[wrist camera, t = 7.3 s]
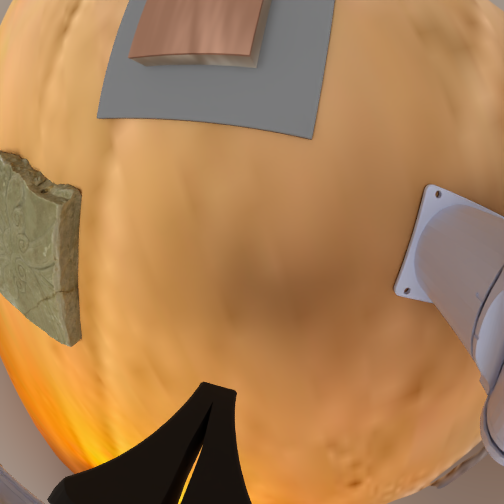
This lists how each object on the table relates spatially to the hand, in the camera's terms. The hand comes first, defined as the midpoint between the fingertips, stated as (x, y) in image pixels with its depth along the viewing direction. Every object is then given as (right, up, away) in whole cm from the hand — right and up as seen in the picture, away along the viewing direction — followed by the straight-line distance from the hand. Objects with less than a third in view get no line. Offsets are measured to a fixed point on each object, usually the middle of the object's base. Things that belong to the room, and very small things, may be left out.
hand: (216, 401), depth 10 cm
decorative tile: (-24, +8, +14) cm, 29 cm away
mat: (-2, +20, +4) cm, 21 cm away
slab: (+2, +20, +2) cm, 20 cm away
